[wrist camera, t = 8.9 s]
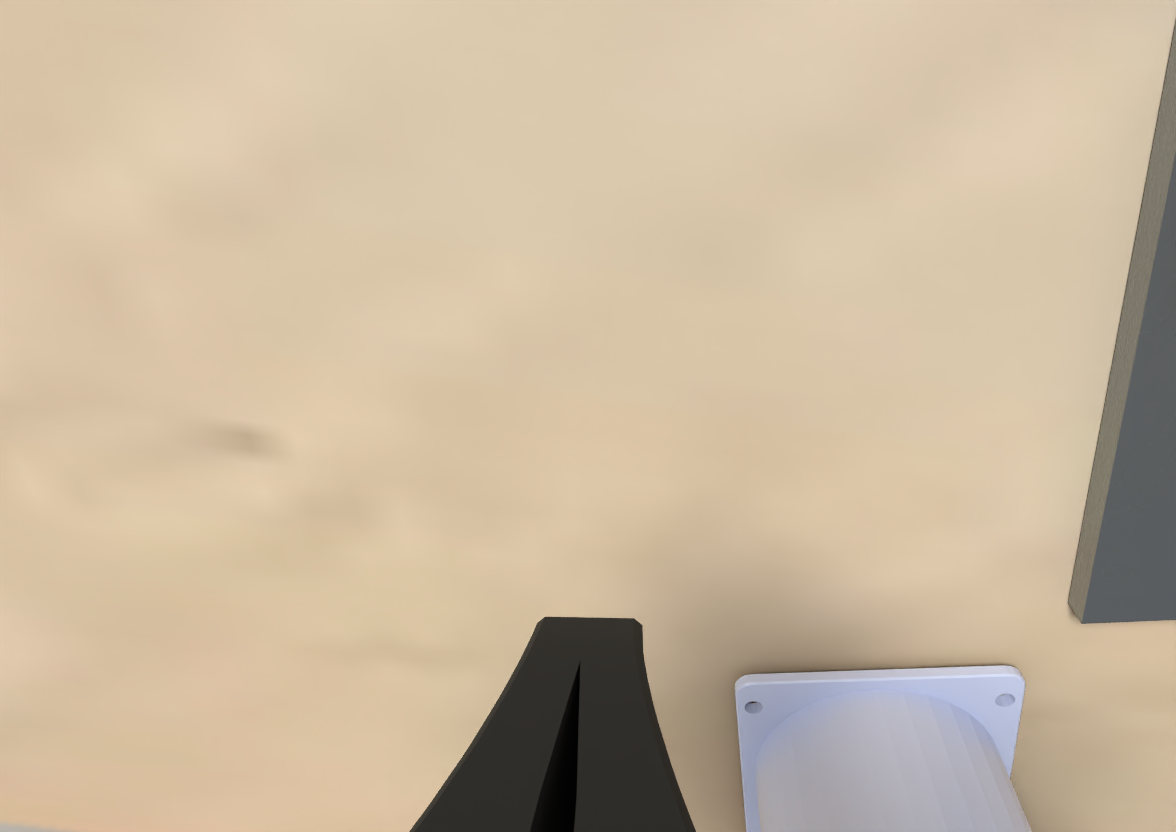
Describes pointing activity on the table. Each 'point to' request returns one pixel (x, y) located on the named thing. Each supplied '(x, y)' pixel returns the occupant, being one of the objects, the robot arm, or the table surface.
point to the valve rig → (1139, 420)
